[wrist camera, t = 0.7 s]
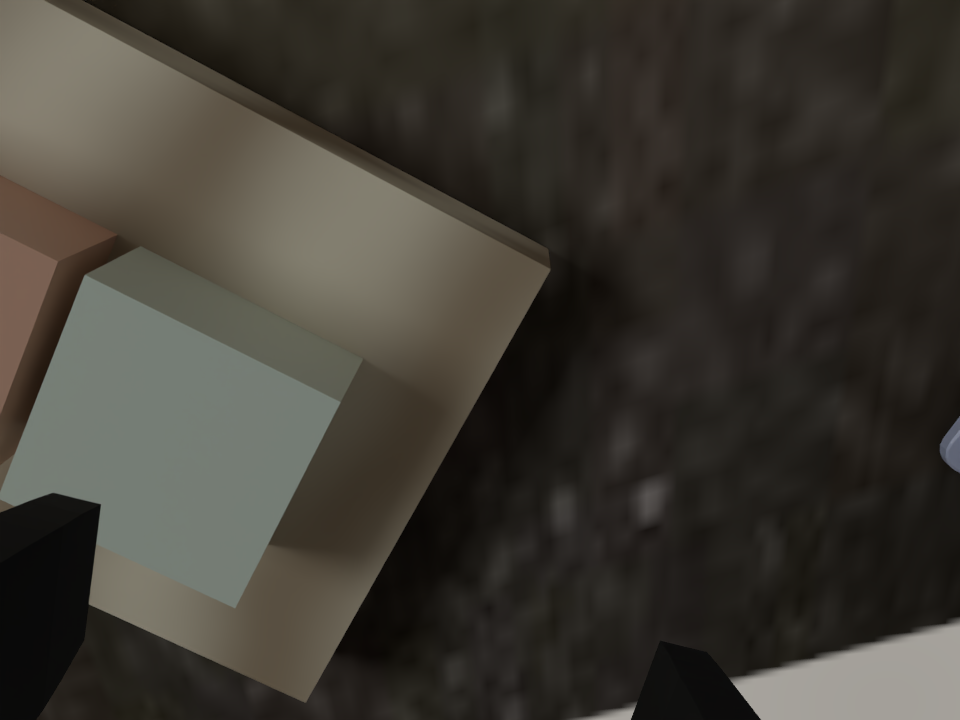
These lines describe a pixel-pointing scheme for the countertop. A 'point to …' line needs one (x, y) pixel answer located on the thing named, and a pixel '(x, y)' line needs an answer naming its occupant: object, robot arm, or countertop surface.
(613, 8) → the countertop surface
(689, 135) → the countertop surface
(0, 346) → the tile terracotta
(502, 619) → the countertop surface
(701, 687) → the robot arm
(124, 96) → the board
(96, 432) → the tile sage
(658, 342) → the countertop surface
